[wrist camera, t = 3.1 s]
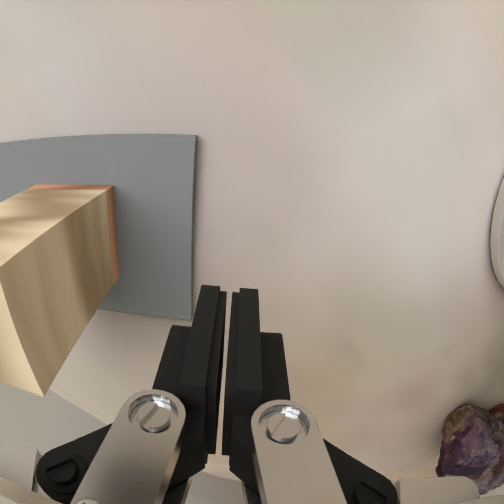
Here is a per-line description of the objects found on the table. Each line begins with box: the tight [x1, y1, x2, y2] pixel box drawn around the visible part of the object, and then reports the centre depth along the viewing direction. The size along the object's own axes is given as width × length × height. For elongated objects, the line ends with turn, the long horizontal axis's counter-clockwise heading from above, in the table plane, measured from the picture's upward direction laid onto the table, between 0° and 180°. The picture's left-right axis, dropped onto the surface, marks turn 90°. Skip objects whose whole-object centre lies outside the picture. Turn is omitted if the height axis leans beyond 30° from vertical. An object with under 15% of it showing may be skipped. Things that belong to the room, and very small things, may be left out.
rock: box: [436, 404, 504, 495], centre depth 22 cm, size 12×9×10 cm
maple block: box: [0, 185, 120, 397], centre depth 12 cm, size 5×5×9 cm
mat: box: [0, 134, 197, 320], centre depth 16 cm, size 19×10×1 cm, turn 85°
